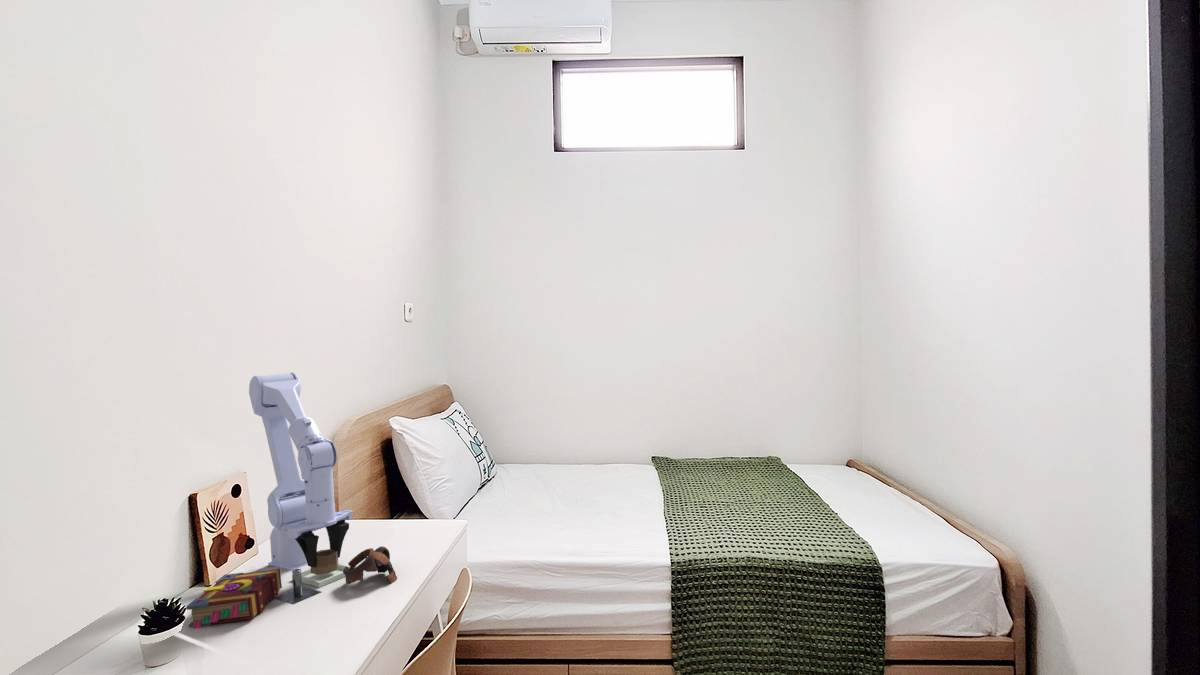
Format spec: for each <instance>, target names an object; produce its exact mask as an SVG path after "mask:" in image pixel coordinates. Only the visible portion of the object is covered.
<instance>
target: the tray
mask: <svg viewBox="0 0 1200 675" xmlns="http://www.w3.org/2000/svg"><path fill="white" fill-rule="evenodd" d="M346 566H347V567H348V569H349V568H350V566H349V565H347V564H344V563H340V562H338V569H337V570H336V571H333V572H331V573H328V574H319V575H316V574H313V573H311V567H310V568H308V569H304V570H303V571H302V570H301V577H302V584H303V585H304V584H306V585H307V586H308V585H309V586H313V587H315V588H322V587H325V586H327V585H330V584H332V583H335V582H336V581H337V582H338V581H339V580H342V579H343V578H346V576H345V574H343V570H344V569H345V567H346ZM291 577H292V578H291V580H292V581H293V575H292V574H291Z"/></svg>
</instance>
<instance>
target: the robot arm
mask: <svg viewBox="0 0 1200 675" xmlns="http://www.w3.org/2000/svg"><path fill="white" fill-rule="evenodd" d="M248 386H249V387H248V393H249V394H248V395H249V398H250V403H251V408H252V410H253V414H254V415H256V416H259V417H261V420H262V423H263V426H264V427H263V428H264V431H265V435H266V439H267V443H268V448H269V452H270V458H271V461H272V466H273V471H274V475H275V479H276V483H277V485H276V487H275V488H274V489H273V490H272V491H271V492H269V495H268V496H267V498H266V499H267V500H266V502H267V517H268V520H269V523H270V525H271V526H273V528H272V530H271V532H270V536H269V538H270V539H269V541H270V543H269V544H270V554H271V556H270V557H271V561H269V562H267V565H268V566H271V567H278V568H282V569H285V570H290V571H293V570H295V569H301V568H302V567H305V566H308V567H310V568H311V567H316V565H317V551H318V549H317V548H318V542H319V537H320V536H319V535H316V534H315V533H314V532H315V531H318V530H321V529H324V528H325V529H326V532H327V533H326V534H327V536H328V540H329V542H328V543H329V549H333V550H337V551H338V559H339V558H341V552H342V548H343V542H344V541H345V540H344V539H345V537H346V535H347V532H348V530H349V528H350V523H349V522H346V521H350V520H354V511H353V510H352V509H345V510H344V509H343V510H340V511H336V502H335V501H336V500H335V485H334V472H333V471H334V470H333V468H334V467H335V466H336V465H337V460H338V453H337V448H336V446H335V443H334V442H333V441H332V440H331V439H329V438H328V437H324V436H323V434H322V432H321V431H320V428H319V427H318V425H317V423H316V421H315V420H314V418H312V417H309V416H307V415H306V413H305V410H304V407H303V404H302V402H301V400H300V395H301V389H302V387H301V386H302V385H301V380H300V377H299V375H297V373H296V372H289V373H280V374H268V375H254V376H252V378H251V379H250V381H249V385H248ZM287 421H288V422H287ZM288 423H289V426H288ZM293 444H294V445H293ZM294 446H295V448H296V450H297V459H296V455H295V450H294ZM298 466H299V468H298ZM299 469H300V471H299ZM300 475H301V476H300Z"/></svg>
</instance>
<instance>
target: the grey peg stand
mask: <svg viewBox="0 0 1200 675" xmlns="http://www.w3.org/2000/svg"><path fill="white" fill-rule="evenodd" d="M291 572H292V574H291V576H292V575H293V580H292V586H293V589H292V590H291V591H288V592H286V593H284V594H280V595H277V596H276V597H275V598H274V599H275V600H277V601H280V602H284V603H287V604H291V605H296V604H298V603H300V602H302V601H304V600H305V601H306V600H307V599H309V598H312V597H315V596H317V595H319V594H322V593H323V591H320V590H316V589H313V588H310V587H306V586H303V583H302V577H301V572H302V568H297V569H295V570H291Z"/></svg>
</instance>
